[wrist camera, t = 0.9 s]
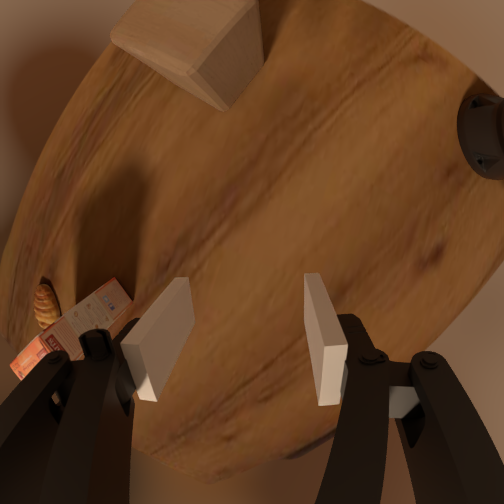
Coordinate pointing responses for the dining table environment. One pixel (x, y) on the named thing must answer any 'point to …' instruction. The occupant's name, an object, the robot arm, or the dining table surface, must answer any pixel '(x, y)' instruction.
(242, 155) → the dining table surface
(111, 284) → the cracker box
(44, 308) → the pastry
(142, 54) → the wooden block
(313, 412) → the dining table surface
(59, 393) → the robot arm
